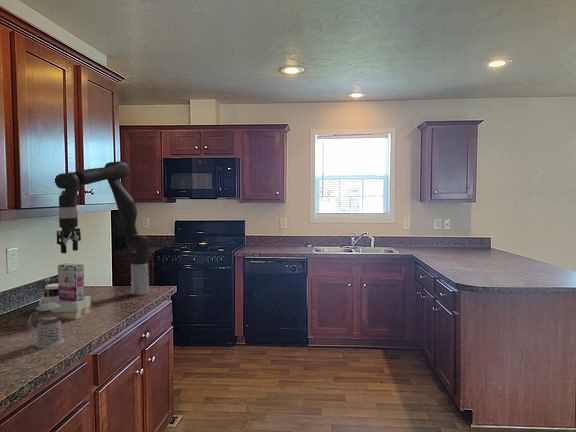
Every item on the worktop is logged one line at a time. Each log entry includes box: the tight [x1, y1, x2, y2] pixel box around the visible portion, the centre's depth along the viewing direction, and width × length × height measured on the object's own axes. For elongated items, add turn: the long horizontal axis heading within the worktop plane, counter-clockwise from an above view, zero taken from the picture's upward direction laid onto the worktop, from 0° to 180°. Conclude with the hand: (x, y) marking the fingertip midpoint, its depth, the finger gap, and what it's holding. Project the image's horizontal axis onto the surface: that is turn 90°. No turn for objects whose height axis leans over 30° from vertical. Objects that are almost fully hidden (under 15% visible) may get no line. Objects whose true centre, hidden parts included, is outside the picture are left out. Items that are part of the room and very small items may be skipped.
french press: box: [27, 277, 66, 348], centre depth 151 cm, size 10×12×25 cm
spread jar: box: [38, 283, 59, 306], centre depth 199 cm, size 12×11×12 cm
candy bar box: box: [57, 263, 85, 301], centre depth 186 cm, size 11×5×16 cm, turn 69°
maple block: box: [50, 304, 92, 321], centre depth 186 cm, size 12×12×4 cm
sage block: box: [50, 295, 92, 313], centre depth 186 cm, size 12×12×4 cm
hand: (69, 251), depth 185 cm, fingers open, 8 cm apart
